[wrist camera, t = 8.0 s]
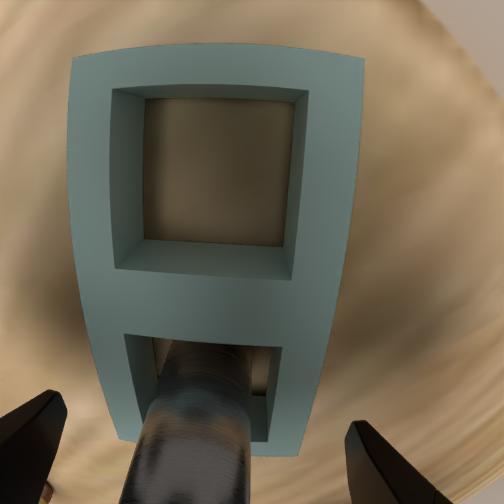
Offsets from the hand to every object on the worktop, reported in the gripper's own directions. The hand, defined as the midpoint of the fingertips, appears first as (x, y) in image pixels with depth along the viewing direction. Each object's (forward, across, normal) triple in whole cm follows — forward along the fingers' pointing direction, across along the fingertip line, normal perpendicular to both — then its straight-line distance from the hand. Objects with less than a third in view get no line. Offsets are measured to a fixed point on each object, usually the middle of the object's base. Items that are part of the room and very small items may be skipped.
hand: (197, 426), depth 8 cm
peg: (+4, 0, 0) cm, 4 cm away
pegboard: (+4, 0, -3) cm, 5 cm away
